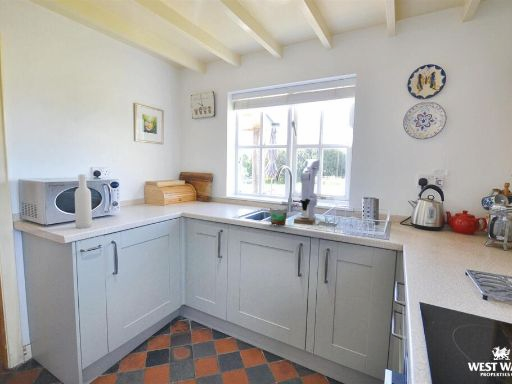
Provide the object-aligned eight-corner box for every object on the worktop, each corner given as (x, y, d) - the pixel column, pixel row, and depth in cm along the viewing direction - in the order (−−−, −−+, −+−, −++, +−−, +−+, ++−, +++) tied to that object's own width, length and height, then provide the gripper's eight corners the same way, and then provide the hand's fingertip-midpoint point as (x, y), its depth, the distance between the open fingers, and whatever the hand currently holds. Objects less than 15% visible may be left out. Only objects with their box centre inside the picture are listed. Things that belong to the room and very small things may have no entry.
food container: (265, 224, 167) (266, 208, 166) (269, 222, 172) (270, 207, 171) (283, 226, 161) (284, 210, 160) (287, 224, 166) (287, 209, 166)
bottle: (74, 226, 149) (72, 174, 146) (89, 224, 154) (88, 174, 152) (77, 229, 143) (75, 174, 141) (94, 227, 149) (92, 174, 147)
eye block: (297, 220, 184) (297, 216, 183) (314, 221, 179) (315, 217, 179) (293, 222, 172) (294, 219, 172) (312, 224, 168) (312, 220, 168)
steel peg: (302, 215, 178) (302, 204, 177) (308, 216, 176) (308, 204, 176) (301, 216, 175) (301, 204, 174) (307, 216, 173) (307, 204, 173)
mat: (319, 221, 181) (319, 220, 181) (337, 222, 177) (337, 222, 177) (317, 224, 168) (317, 224, 168) (336, 226, 164) (336, 226, 164)
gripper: (301, 189, 182) (301, 208, 183) (297, 190, 169) (296, 211, 170) (312, 189, 180) (311, 209, 181) (308, 191, 166) (307, 212, 167)
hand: (305, 210), depth 175 cm, fingers closed on steel peg, 3 cm apart
